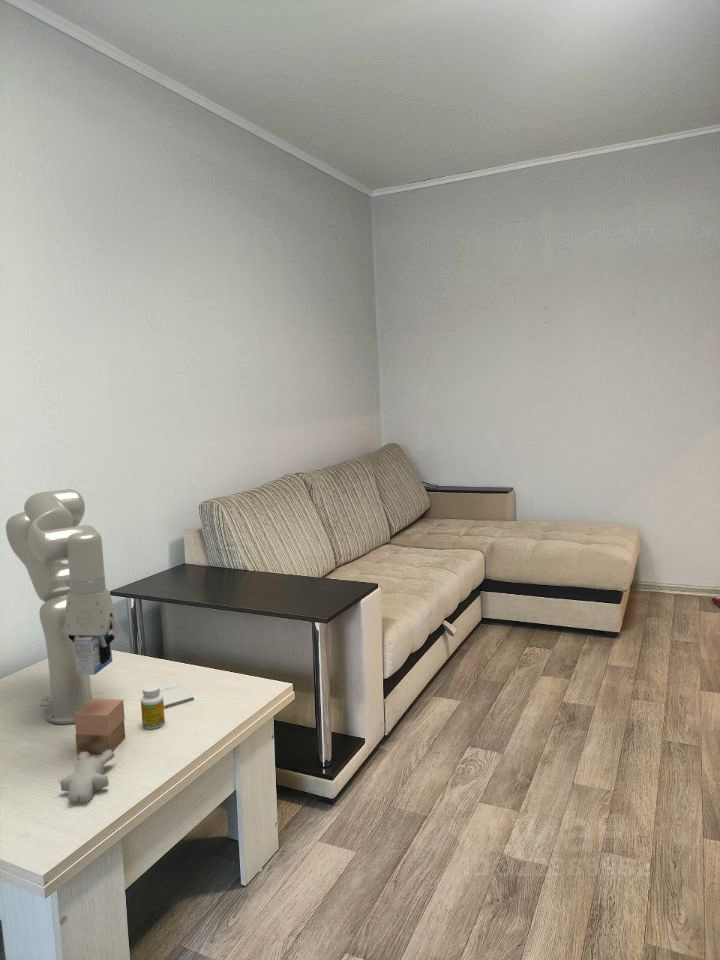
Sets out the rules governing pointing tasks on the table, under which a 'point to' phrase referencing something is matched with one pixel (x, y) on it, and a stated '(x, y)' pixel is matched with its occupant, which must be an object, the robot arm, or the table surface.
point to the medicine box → (89, 655)
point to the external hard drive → (174, 695)
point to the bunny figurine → (86, 777)
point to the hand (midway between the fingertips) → (94, 660)
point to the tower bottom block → (100, 741)
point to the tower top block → (99, 717)
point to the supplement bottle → (152, 707)
